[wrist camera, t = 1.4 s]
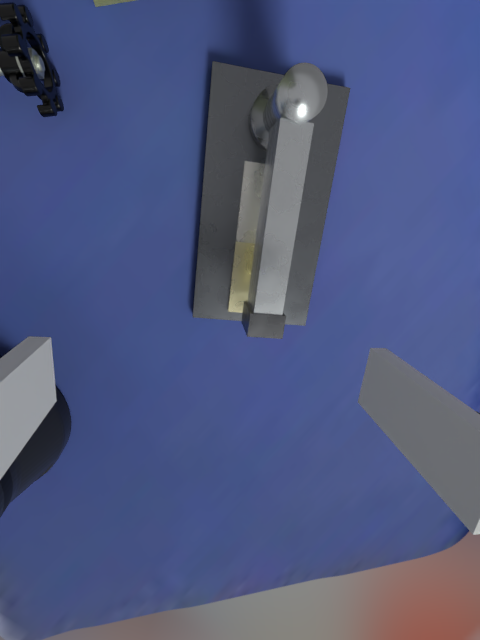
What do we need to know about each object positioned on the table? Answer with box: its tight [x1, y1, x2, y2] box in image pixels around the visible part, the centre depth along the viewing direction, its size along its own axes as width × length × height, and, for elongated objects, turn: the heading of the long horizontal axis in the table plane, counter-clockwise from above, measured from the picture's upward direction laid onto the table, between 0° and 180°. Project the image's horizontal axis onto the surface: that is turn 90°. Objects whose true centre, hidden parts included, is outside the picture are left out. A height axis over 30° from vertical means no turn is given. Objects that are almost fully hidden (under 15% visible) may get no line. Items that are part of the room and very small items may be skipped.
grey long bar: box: [241, 63, 328, 339], centre depth 26 cm, size 19×3×6 cm, turn 173°
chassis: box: [193, 61, 350, 326], centre depth 31 cm, size 12×22×2 cm, turn 173°
